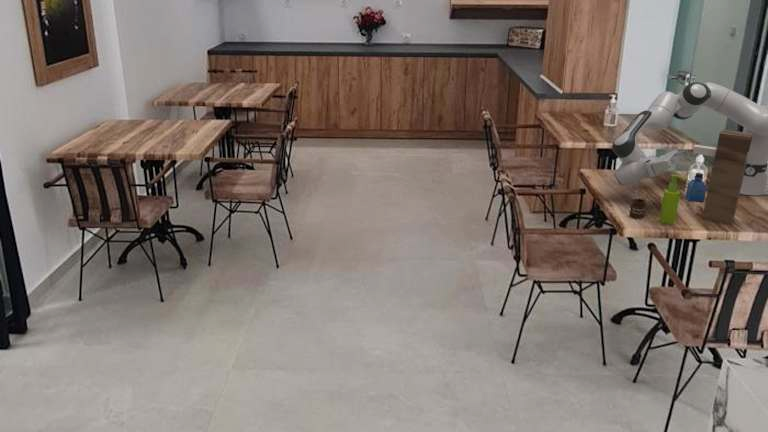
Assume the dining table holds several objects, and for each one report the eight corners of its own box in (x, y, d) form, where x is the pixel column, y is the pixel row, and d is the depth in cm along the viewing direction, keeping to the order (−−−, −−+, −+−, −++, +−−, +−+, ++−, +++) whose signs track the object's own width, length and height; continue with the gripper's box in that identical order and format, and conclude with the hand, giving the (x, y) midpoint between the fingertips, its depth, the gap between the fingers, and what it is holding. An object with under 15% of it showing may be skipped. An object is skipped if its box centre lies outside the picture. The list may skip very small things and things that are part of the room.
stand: (705, 212, 278) (722, 129, 264) (734, 218, 272) (753, 133, 259) (702, 219, 271) (719, 133, 257) (731, 224, 265) (750, 137, 252)
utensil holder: (628, 213, 276) (632, 186, 271) (643, 214, 275) (648, 187, 270) (630, 218, 270) (634, 190, 266) (646, 219, 269) (651, 192, 265)
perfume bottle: (703, 202, 290) (708, 176, 286) (688, 201, 291) (693, 175, 287) (700, 197, 296) (705, 172, 291) (685, 196, 297) (690, 171, 292)
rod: (694, 151, 270) (695, 144, 269) (746, 159, 260) (748, 152, 259) (692, 153, 268) (694, 146, 267) (745, 161, 258) (747, 154, 257)
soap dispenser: (674, 225, 263) (683, 178, 256) (656, 221, 267) (665, 175, 260) (679, 221, 267) (688, 175, 260) (661, 217, 271) (670, 171, 264)
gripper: (660, 167, 287) (692, 155, 279) (650, 178, 271) (684, 166, 262) (654, 154, 287) (686, 142, 278) (644, 164, 271) (678, 152, 262)
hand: (685, 154), depth 270 cm, fingers open, 8 cm apart
